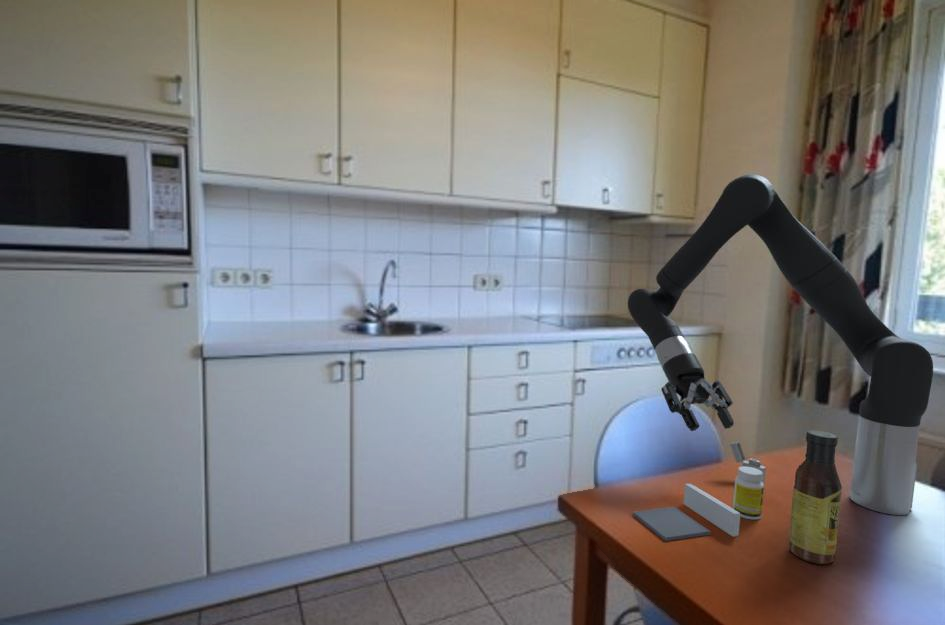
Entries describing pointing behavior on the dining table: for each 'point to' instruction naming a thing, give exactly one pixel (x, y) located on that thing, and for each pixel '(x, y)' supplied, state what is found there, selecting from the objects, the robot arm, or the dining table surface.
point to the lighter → (741, 458)
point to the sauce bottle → (816, 501)
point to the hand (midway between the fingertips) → (712, 428)
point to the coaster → (671, 523)
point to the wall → (712, 509)
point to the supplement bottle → (748, 493)
